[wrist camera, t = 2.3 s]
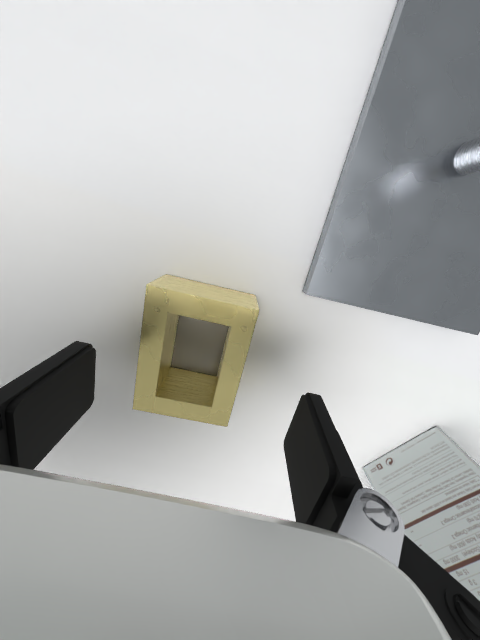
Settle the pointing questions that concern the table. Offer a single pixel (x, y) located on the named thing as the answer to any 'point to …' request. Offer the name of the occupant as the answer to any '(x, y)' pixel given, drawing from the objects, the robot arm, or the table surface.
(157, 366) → the hollow rectangular wooden block
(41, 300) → the table surface
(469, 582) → the supplement box
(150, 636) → the robot arm
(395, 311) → the keeper plate
